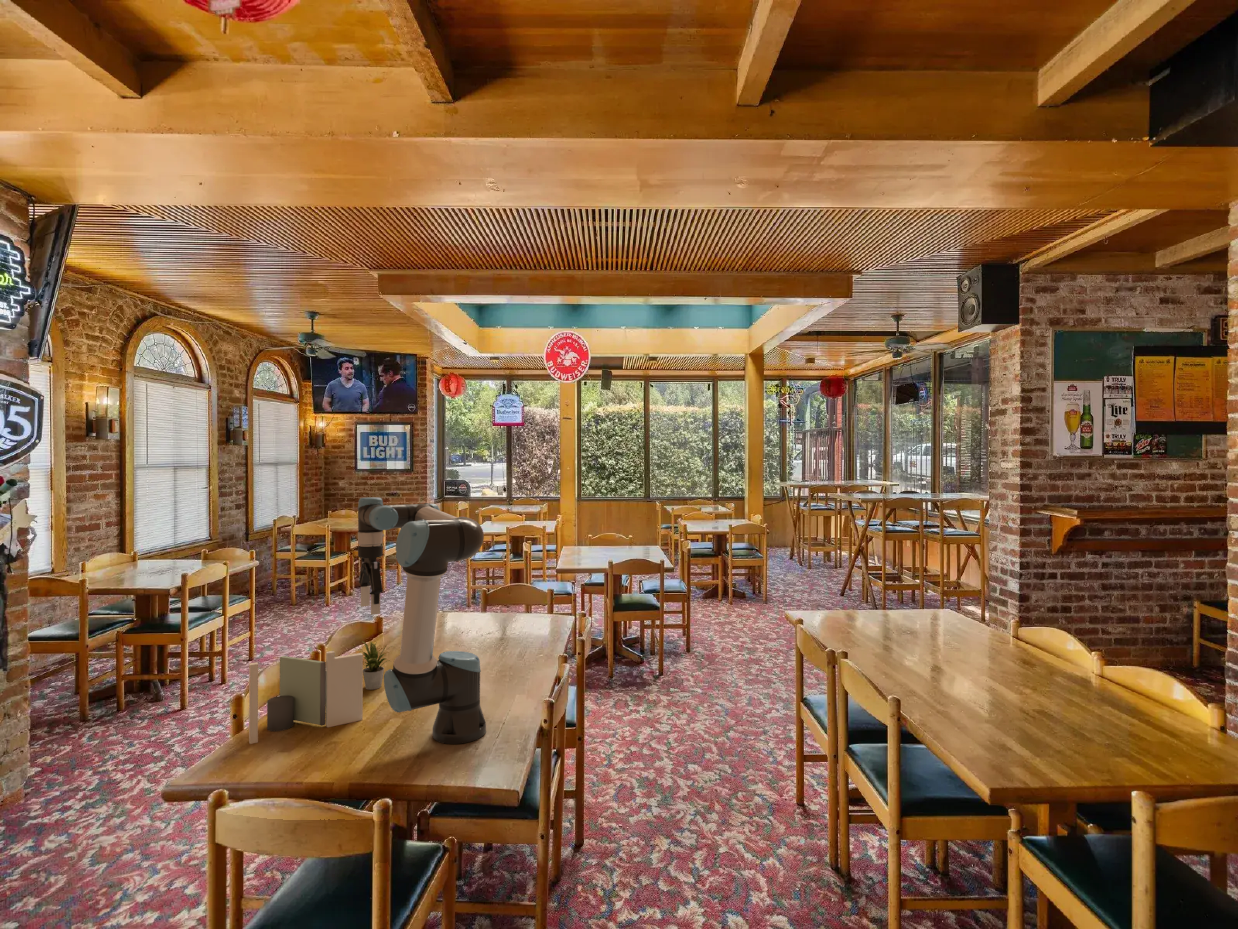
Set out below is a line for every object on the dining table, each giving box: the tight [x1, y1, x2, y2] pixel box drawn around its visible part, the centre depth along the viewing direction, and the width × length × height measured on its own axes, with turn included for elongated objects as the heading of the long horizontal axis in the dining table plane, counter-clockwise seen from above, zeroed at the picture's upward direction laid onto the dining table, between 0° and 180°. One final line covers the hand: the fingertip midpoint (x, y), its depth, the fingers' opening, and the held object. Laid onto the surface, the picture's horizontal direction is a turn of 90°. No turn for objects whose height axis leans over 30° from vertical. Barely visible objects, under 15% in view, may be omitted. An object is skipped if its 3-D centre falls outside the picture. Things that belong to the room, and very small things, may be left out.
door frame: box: [248, 650, 364, 745], centre depth 188 cm, size 2×30×22 cm, turn 125°
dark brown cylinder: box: [266, 695, 295, 732], centre depth 190 cm, size 7×7×8 cm
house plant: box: [350, 640, 393, 691], centre depth 224 cm, size 14×14×16 cm
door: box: [279, 655, 326, 726], centre depth 193 cm, size 1×17×18 cm, turn 69°
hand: (370, 610), depth 208 cm, fingers open, 13 cm apart
